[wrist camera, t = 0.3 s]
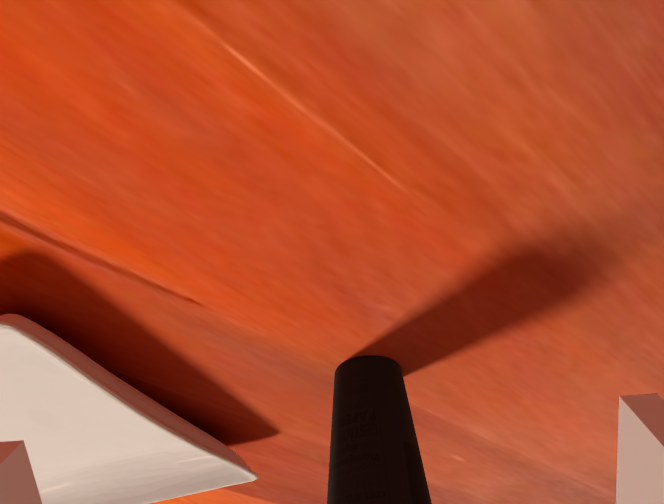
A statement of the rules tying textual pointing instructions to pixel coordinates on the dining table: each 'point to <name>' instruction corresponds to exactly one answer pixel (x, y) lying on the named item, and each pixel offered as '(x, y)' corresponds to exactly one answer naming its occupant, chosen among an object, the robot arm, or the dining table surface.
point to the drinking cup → (373, 437)
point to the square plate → (99, 428)
